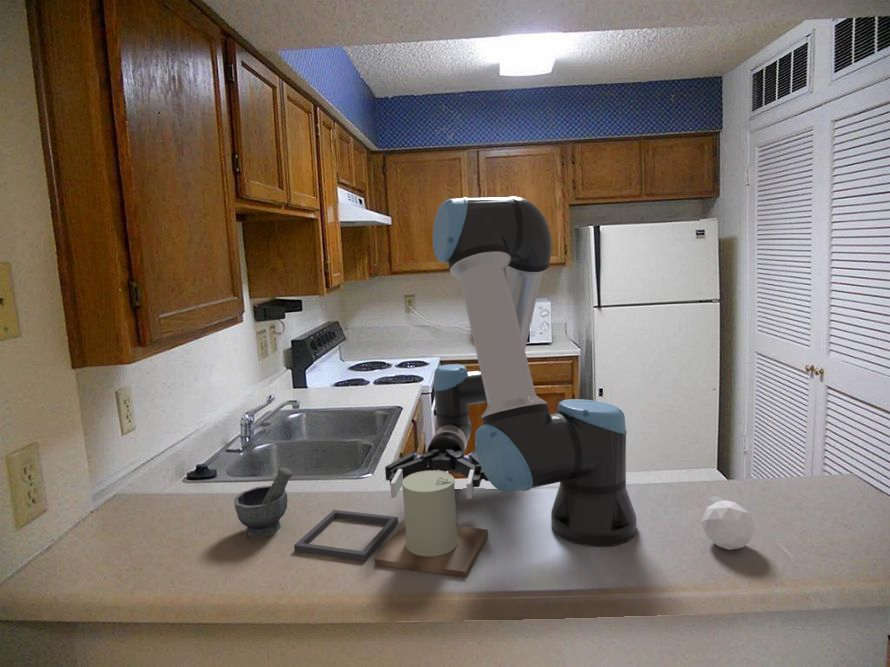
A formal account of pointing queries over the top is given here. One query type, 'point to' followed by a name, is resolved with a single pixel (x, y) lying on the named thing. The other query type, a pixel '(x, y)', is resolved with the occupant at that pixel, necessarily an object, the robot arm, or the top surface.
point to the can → (430, 513)
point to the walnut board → (446, 564)
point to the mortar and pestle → (263, 506)
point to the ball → (728, 525)
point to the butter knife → (717, 499)
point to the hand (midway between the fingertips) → (430, 490)
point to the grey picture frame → (340, 552)
